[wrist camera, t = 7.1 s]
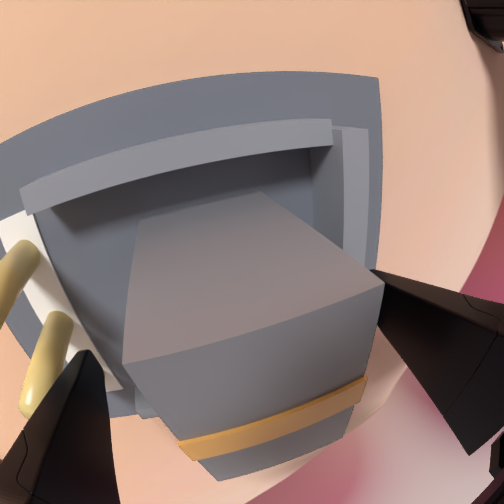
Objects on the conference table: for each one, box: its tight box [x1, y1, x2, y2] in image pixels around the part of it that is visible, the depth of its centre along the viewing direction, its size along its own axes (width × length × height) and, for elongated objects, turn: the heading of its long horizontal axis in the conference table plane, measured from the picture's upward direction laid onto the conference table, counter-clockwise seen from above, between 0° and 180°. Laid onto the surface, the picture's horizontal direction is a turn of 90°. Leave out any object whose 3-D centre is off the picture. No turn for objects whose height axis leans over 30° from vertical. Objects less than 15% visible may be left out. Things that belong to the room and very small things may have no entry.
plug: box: [122, 191, 385, 482], centre depth 8 cm, size 4×6×6 cm
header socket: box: [0, 71, 383, 420], centre depth 8 cm, size 17×14×6 cm
